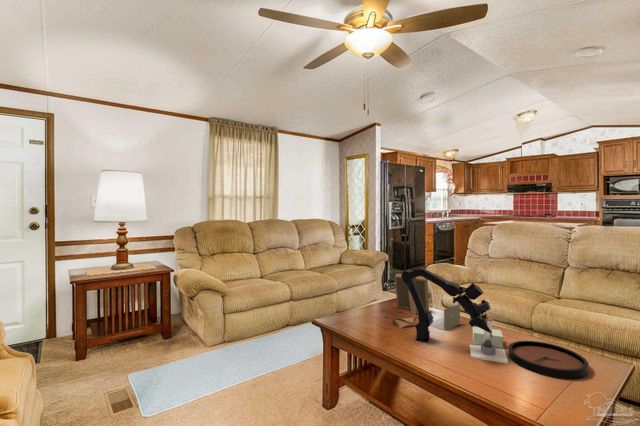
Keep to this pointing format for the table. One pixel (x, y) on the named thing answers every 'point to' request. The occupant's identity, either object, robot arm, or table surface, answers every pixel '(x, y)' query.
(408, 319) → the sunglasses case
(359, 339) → the table surface
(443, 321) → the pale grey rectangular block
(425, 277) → the robot arm
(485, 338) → the gold topped patterned cylinder
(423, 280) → the tall grey box
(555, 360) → the wall clock
